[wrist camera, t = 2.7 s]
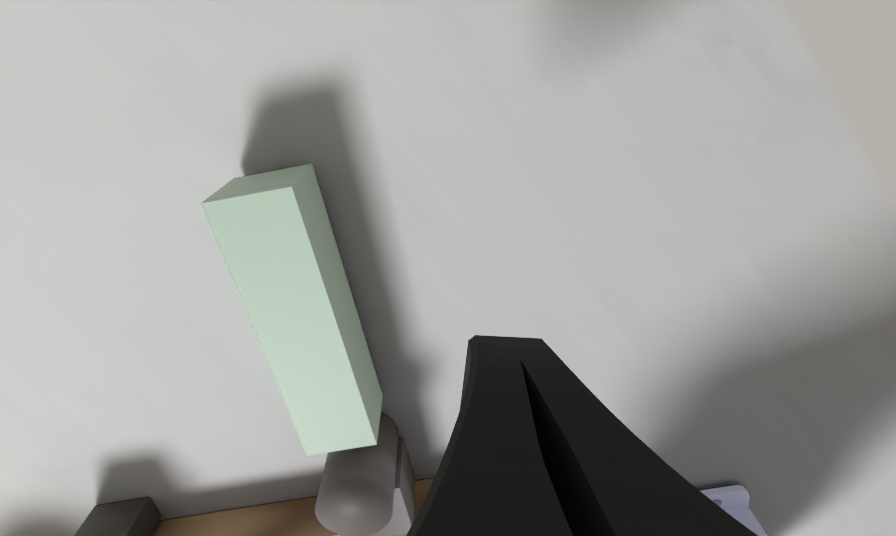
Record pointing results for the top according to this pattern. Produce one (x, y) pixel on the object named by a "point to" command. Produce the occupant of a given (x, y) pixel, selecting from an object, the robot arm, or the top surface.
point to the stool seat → (298, 502)
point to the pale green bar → (299, 304)
